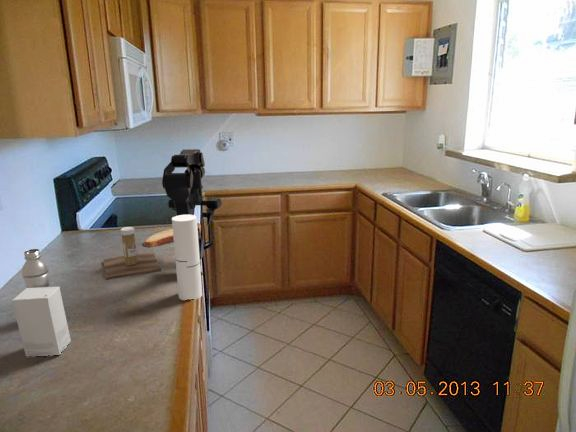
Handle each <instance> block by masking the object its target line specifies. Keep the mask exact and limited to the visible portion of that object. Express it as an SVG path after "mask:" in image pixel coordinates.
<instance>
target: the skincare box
mask: <svg viewBox="0 0 576 432" xmlns="http://www.w3.org/2000/svg"><path fill="white" fill-rule="evenodd" d="M63 302H64V301H63V298H62V293H61V288H60V286H50V287H40V288H27V287H26V288H25V289H23V291H21V292H20V293H19V294H18V295H16V296H15V297H13V299H11V303H12V307H13V310H14V315H15V318H16V319H15V320H16V322H17V326H18V329H19V330H18V331H19V334H20V338H21V342H22V346H23V347H22V348H23V351H24V354H25V357H26V356H47V357H49V356H48V355H59V354H61V355H62V353H63V352H64V351H65V350H66V348H67V347H68V346H69V345H70V344H71V341H72V340H71V335H70V330H69V326H68V321H67V317H66V311H65V308H64V307H65V306H64V303H63ZM68 344H69V345H68ZM67 345H68V346H67ZM64 349H65V350H64ZM63 350H64V351H63ZM62 351H63V352H62ZM61 352H62V353H61Z"/></svg>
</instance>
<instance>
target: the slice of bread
mask: <svg viewBox="0 0 576 432" xmlns="http://www.w3.org/2000/svg"><path fill="white" fill-rule="evenodd" d="M170 243H174V238H173V227H172V228H170V229H166V230H162V231H160V232H156V233H154V234H153V235H150V236H148V237H147V238H146V239H144V243H143V245H144V247H145V248H155V247H160V246H164V245H166V244H170Z"/></svg>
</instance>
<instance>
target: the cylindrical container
mask: <svg viewBox="0 0 576 432" xmlns="http://www.w3.org/2000/svg"><path fill="white" fill-rule="evenodd" d="M171 224H172V225H171V226H172V228H173V238H174V242H173V246H174V247H173V249H174V259H175V260H174V261H175V269H176V281H177V292H178V293H177V294H178V299H179V300H181V301H185V300H187V299H194V300H193V301H195V300H198V299H200V298H201V297H202V296H203V287H202V276H201V272H202V271H201V259H200V256H199V242H198V228H199V227H198V218H197V215H195V214H192V215H178V216H177V215H176V216H172V217H171ZM197 227H198V228H197Z"/></svg>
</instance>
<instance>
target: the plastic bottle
mask: <svg viewBox="0 0 576 432" xmlns="http://www.w3.org/2000/svg"><path fill="white" fill-rule="evenodd" d="M23 255H24V260H25V262H24V264H23V266H22V267H21V275H22V279H23V280H24V283H25V287H26V288H40V287H51V285H50V274H49V273H50V272H49V271H50V269H49V265H48V263H47V262H46V261H45V260H43V259H42V258H41V256H42V254H41V252H40V249H38V248H32V249H26V250H25V251H24V252H23Z"/></svg>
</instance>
